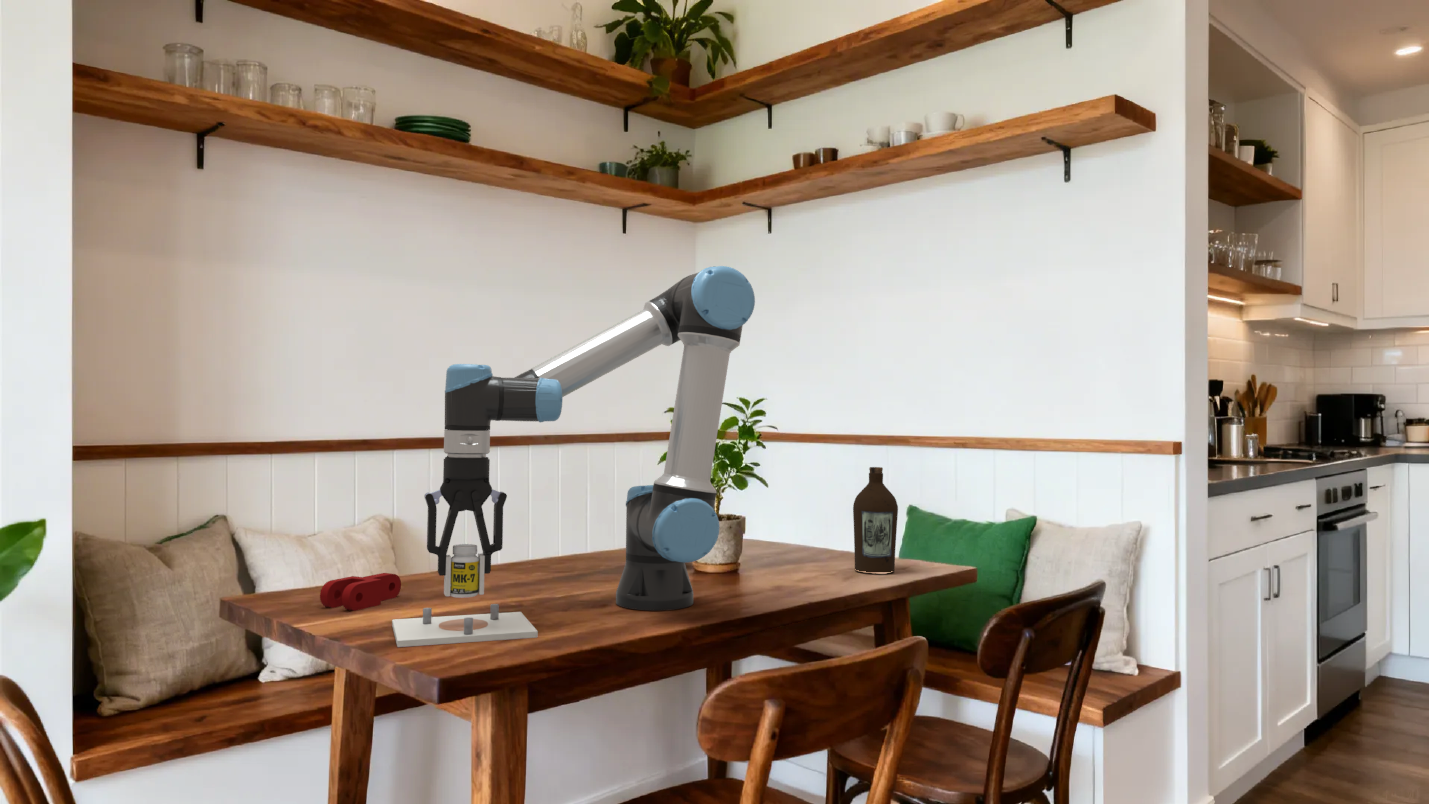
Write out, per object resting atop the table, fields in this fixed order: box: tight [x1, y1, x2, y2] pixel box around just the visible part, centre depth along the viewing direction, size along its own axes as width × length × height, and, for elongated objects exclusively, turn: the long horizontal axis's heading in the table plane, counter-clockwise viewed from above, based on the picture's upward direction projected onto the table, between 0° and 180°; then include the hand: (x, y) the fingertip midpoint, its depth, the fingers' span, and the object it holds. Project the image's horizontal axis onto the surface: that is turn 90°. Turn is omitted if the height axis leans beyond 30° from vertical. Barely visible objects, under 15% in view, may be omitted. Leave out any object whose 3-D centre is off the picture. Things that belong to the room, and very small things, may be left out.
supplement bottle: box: [449, 543, 479, 599], centre depth 161 cm, size 5×5×8 cm
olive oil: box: [852, 466, 899, 572], centre depth 229 cm, size 11×11×25 cm
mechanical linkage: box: [319, 572, 402, 612], centre depth 183 cm, size 16×7×5 cm, turn 156°
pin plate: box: [391, 603, 539, 648], centre depth 161 cm, size 22×16×4 cm
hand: (463, 593), depth 161 cm, fingers closed on supplement bottle, 5 cm apart
